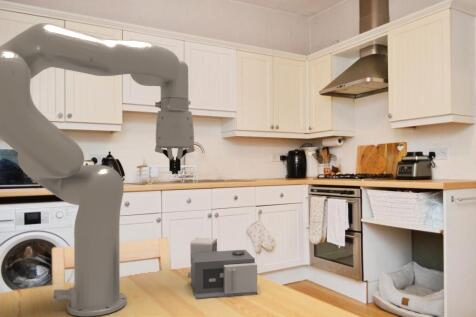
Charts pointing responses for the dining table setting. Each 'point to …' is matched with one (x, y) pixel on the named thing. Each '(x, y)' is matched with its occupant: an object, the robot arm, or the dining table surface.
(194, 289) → the camera case
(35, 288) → the dining table surface
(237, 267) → the door
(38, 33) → the robot arm
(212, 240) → the white rounded housing
